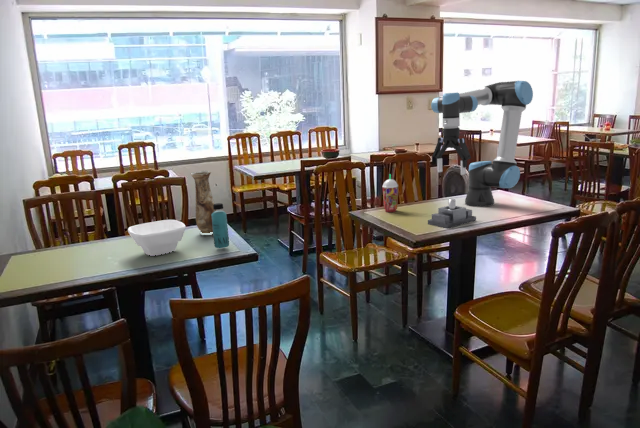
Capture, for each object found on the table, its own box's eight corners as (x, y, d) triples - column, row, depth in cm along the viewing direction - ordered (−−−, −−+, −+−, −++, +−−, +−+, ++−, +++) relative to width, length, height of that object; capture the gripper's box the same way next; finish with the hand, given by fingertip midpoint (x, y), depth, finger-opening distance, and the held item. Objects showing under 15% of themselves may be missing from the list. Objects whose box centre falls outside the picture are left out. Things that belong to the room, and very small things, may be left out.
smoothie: (395, 213, 258) (394, 175, 254) (380, 212, 262) (379, 175, 258) (400, 209, 265) (400, 173, 261) (386, 208, 269) (385, 172, 265)
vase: (223, 232, 238) (217, 171, 231) (204, 237, 231) (197, 174, 224) (211, 229, 245) (205, 169, 239) (192, 234, 238) (185, 172, 231)
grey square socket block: (451, 215, 240) (451, 205, 238) (466, 218, 232) (466, 207, 231) (438, 218, 235) (438, 208, 234) (453, 221, 227) (453, 211, 226)
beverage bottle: (217, 247, 214) (212, 202, 210) (232, 247, 213) (227, 201, 209) (212, 251, 208) (207, 205, 203) (227, 251, 207) (223, 205, 203)
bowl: (126, 252, 213) (122, 227, 211) (176, 242, 226) (173, 217, 223) (141, 265, 196) (137, 236, 193) (194, 253, 208) (191, 226, 205)
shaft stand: (456, 216, 244) (456, 194, 242) (476, 220, 234) (476, 198, 232) (427, 224, 233) (427, 201, 231) (447, 228, 224) (447, 204, 221)
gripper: (424, 127, 234) (425, 172, 239) (468, 128, 214) (468, 176, 219) (435, 126, 238) (436, 169, 243) (479, 126, 219) (478, 174, 224)
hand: (451, 173), depth 231 cm, fingers open, 13 cm apart
